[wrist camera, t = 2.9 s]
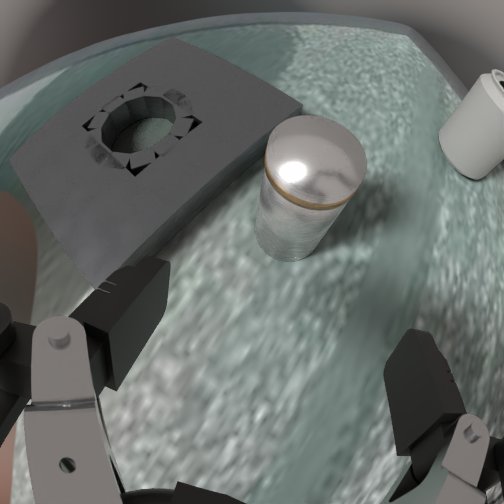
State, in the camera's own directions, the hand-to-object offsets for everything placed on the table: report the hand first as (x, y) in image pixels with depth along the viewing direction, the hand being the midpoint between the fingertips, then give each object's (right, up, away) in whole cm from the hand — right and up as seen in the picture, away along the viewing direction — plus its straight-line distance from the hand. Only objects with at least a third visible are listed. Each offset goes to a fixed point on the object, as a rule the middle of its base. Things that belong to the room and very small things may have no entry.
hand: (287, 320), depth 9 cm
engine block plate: (-11, +12, +16) cm, 23 cm away
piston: (+2, +4, +14) cm, 15 cm away
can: (+23, +13, +19) cm, 32 cm away
